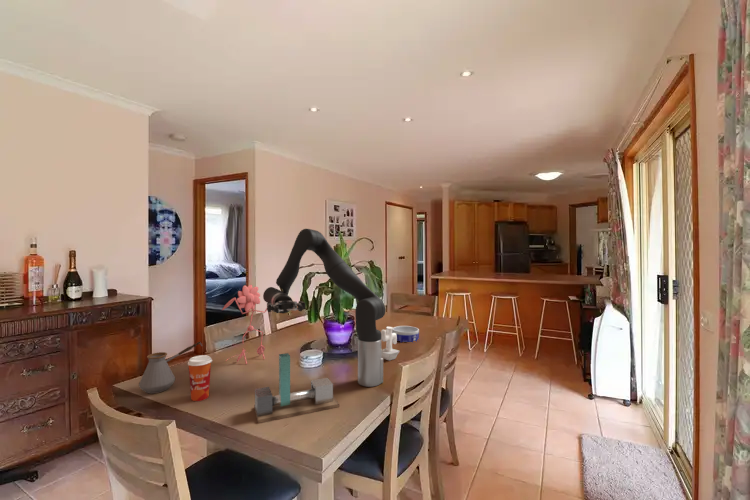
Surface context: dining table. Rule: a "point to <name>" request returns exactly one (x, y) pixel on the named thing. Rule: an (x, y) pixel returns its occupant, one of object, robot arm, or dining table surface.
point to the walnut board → (296, 409)
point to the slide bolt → (288, 385)
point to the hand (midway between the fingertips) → (289, 309)
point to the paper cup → (199, 377)
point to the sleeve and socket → (320, 385)
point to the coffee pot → (159, 372)
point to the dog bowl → (406, 333)
